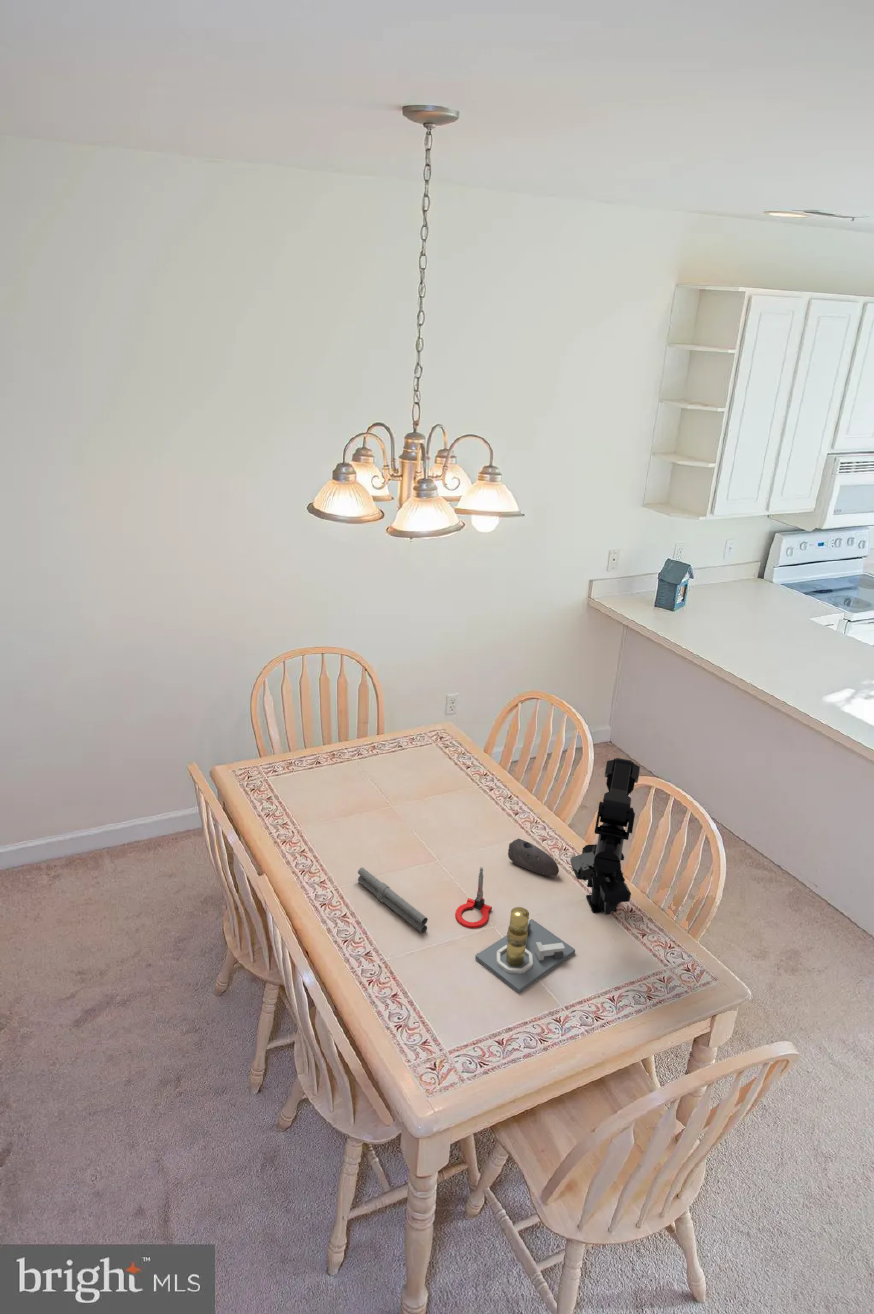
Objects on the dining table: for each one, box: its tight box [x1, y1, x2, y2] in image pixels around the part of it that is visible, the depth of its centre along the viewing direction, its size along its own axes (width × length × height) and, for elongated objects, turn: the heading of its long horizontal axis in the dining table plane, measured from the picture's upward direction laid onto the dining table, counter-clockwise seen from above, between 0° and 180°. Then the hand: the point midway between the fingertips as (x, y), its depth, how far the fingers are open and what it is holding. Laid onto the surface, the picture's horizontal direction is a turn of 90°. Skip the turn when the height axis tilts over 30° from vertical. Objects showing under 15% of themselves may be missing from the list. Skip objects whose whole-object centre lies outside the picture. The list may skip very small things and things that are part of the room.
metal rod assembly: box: [357, 867, 429, 934], centre depth 223 cm, size 26×3×5 cm, turn 43°
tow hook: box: [454, 866, 493, 929], centre depth 219 cm, size 8×13×9 cm
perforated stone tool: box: [507, 838, 560, 877], centre depth 239 cm, size 15×5×7 cm, turn 54°
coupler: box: [506, 906, 530, 966], centre depth 204 cm, size 5×5×14 cm
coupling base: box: [475, 918, 576, 994], centre depth 209 cm, size 20×14×4 cm
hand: (601, 901), depth 209 cm, fingers open, 9 cm apart
